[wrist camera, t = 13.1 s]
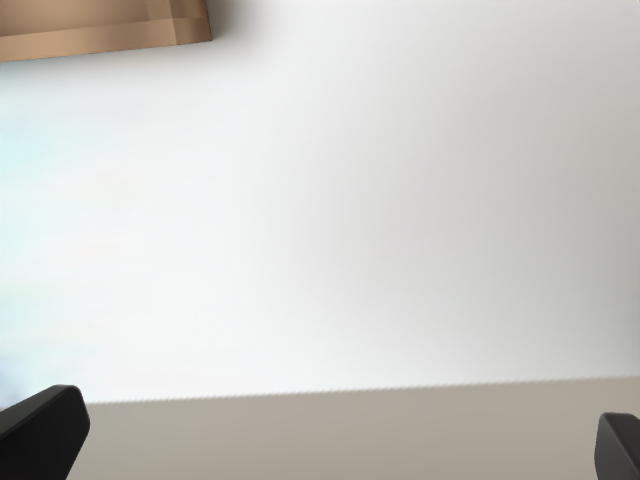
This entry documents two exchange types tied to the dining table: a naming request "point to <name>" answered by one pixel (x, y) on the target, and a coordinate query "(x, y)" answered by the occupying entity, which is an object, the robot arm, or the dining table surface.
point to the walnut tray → (97, 26)
